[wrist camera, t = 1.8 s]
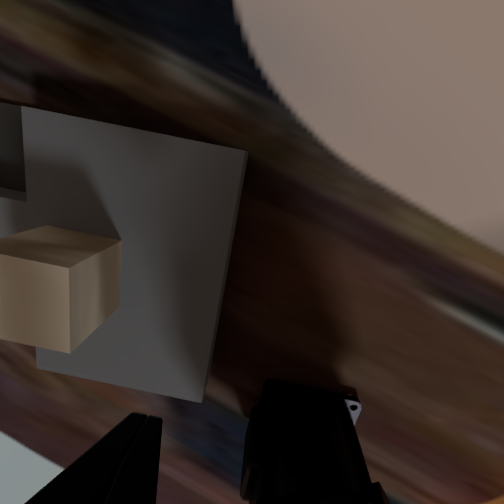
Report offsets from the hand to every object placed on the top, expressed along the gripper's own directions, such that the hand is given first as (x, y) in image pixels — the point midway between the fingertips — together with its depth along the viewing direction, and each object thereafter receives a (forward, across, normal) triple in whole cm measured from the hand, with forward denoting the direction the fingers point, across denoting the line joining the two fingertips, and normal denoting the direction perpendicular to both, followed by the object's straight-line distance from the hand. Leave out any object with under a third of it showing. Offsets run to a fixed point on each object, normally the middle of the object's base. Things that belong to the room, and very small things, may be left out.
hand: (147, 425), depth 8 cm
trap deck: (+10, +10, 0) cm, 14 cm away
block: (+8, +7, 0) cm, 11 cm away
